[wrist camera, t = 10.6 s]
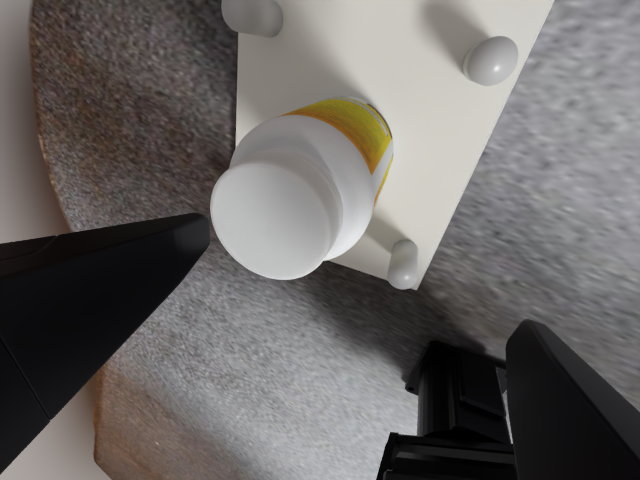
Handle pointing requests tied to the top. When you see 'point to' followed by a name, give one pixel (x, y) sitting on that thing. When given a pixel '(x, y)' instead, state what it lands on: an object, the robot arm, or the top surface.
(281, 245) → the supplement bottle
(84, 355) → the robot arm
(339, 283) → the top surface
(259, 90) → the pin tray
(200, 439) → the top surface
